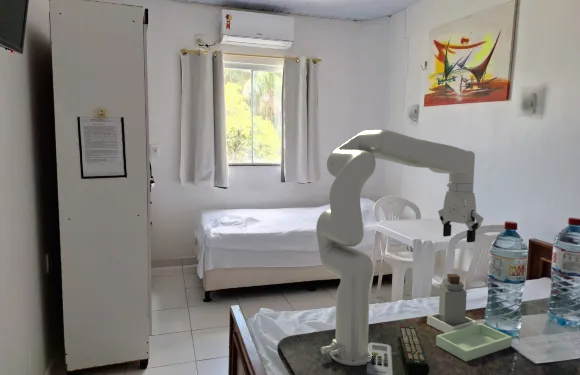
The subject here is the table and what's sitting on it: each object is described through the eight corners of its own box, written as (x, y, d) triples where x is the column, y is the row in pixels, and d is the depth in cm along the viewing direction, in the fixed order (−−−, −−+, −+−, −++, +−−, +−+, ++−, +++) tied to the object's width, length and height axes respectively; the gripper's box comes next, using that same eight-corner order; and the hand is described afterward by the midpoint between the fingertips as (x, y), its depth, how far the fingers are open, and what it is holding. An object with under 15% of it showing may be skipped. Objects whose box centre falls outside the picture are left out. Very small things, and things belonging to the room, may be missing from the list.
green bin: (465, 361, 117) (466, 351, 116) (435, 344, 127) (436, 335, 126) (511, 346, 126) (511, 336, 125) (480, 331, 136) (480, 323, 135)
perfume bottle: (458, 323, 142) (460, 272, 141) (464, 331, 136) (467, 279, 134) (438, 322, 143) (440, 272, 141) (443, 330, 136) (445, 278, 135)
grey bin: (452, 336, 132) (453, 328, 132) (427, 323, 142) (427, 315, 141) (476, 330, 137) (476, 321, 137) (449, 317, 147) (450, 309, 146)
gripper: (432, 186, 141) (430, 235, 143) (475, 191, 126) (472, 245, 128) (448, 185, 145) (446, 233, 146) (491, 190, 129) (488, 243, 131)
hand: (458, 238), depth 137 cm, fingers open, 9 cm apart
